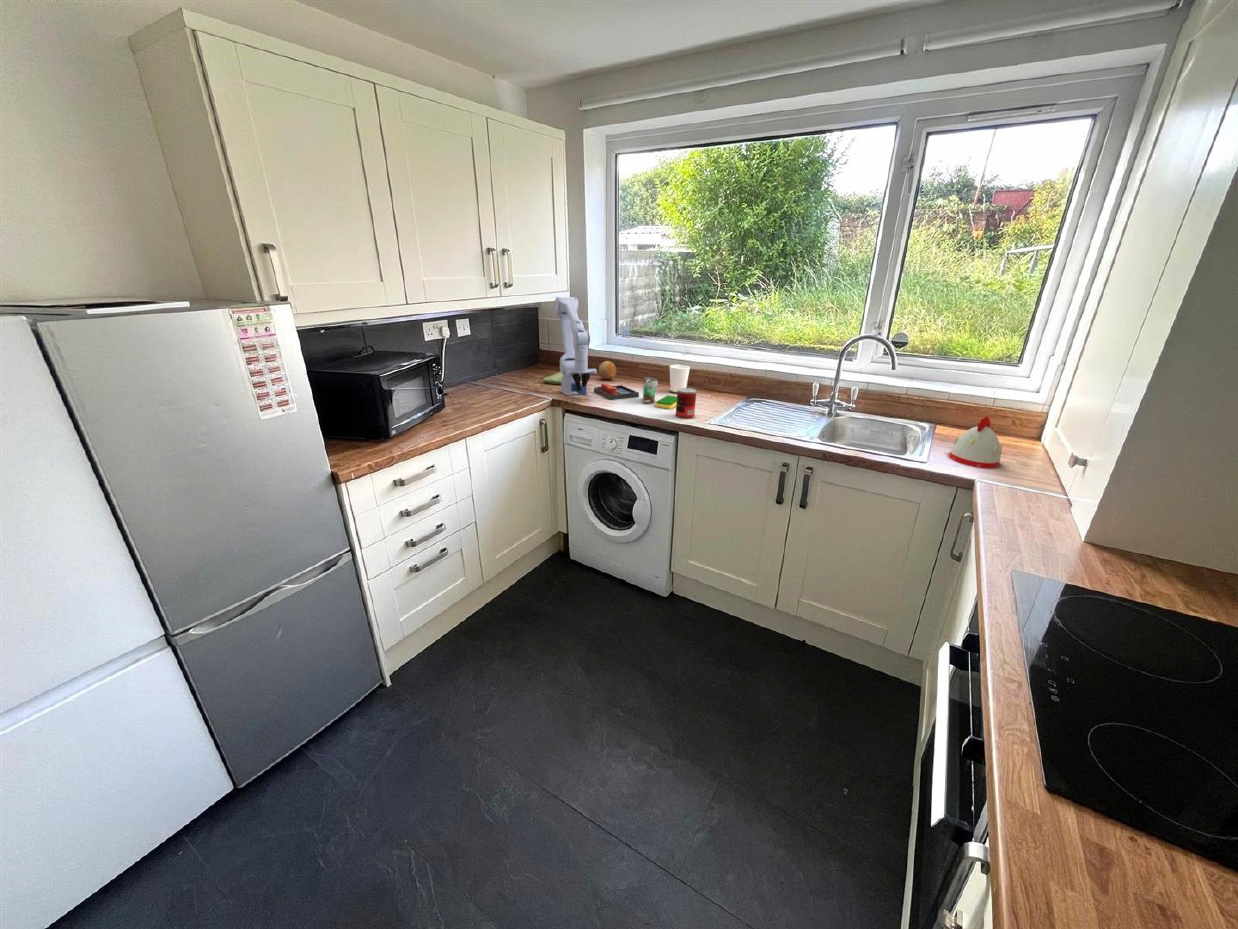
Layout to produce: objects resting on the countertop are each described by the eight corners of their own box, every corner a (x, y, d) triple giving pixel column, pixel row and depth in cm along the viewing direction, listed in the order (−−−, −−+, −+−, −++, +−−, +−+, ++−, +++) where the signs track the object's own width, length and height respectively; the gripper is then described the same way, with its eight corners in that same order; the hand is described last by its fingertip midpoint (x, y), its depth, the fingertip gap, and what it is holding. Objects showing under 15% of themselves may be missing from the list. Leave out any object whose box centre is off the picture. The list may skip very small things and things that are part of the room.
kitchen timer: (941, 457, 169) (954, 414, 163) (959, 450, 176) (972, 409, 171) (988, 470, 158) (1003, 425, 153) (1005, 462, 166) (1020, 419, 160)
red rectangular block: (609, 396, 231) (610, 388, 230) (598, 390, 240) (599, 383, 239) (618, 395, 233) (618, 388, 232) (607, 390, 242) (607, 383, 241)
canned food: (695, 414, 209) (698, 388, 205) (692, 419, 202) (694, 392, 198) (677, 412, 211) (679, 386, 207) (673, 417, 204) (675, 390, 200)
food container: (657, 405, 222) (658, 382, 218) (643, 404, 222) (644, 382, 218) (656, 398, 233) (657, 377, 230) (642, 397, 233) (644, 376, 230)
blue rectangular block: (578, 389, 232) (578, 382, 231) (588, 394, 223) (588, 387, 221) (569, 390, 230) (569, 382, 229) (579, 395, 221) (579, 388, 219)
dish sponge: (655, 406, 219) (656, 401, 218) (666, 400, 231) (667, 395, 230) (670, 409, 216) (671, 403, 215) (681, 402, 228) (681, 397, 227)
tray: (610, 399, 228) (610, 395, 227) (594, 391, 242) (594, 387, 241) (638, 396, 235) (639, 392, 234) (621, 389, 249) (621, 385, 248)
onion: (596, 381, 265) (596, 362, 261) (600, 377, 274) (600, 359, 270) (614, 382, 263) (614, 363, 260) (617, 378, 273) (618, 360, 269)
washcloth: (541, 383, 256) (541, 376, 255) (559, 377, 271) (559, 371, 270) (563, 386, 251) (563, 380, 250) (580, 380, 266) (580, 374, 264)
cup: (691, 391, 248) (693, 366, 244) (682, 395, 241) (684, 369, 236) (673, 388, 253) (675, 363, 248) (664, 392, 245) (666, 366, 241)
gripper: (569, 362, 212) (569, 393, 217) (599, 360, 219) (599, 390, 224) (563, 359, 218) (563, 390, 223) (593, 357, 225) (592, 387, 230)
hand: (580, 390), depth 224 cm, fingers closed on blue rectangular block, 2 cm apart
